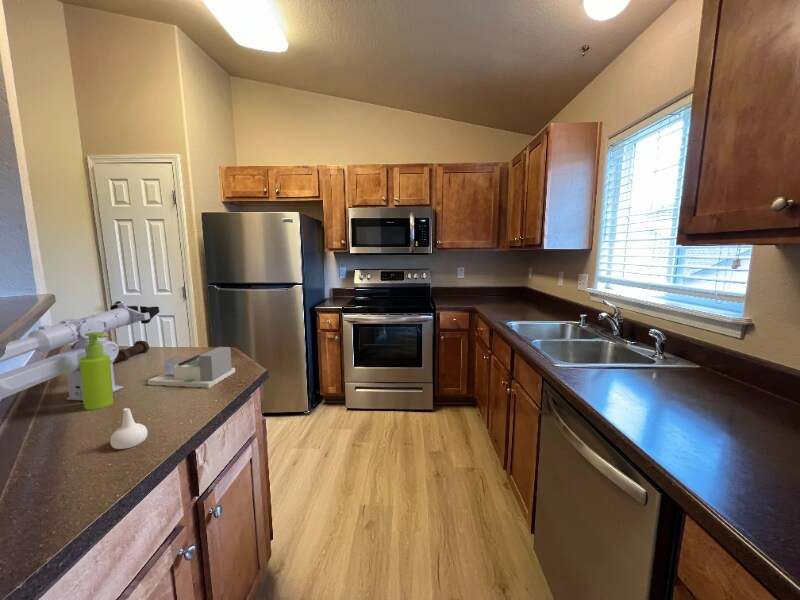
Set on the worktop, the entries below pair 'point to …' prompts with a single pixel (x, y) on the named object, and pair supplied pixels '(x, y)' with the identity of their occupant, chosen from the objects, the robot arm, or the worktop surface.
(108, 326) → the robot arm
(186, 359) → the grey block with bar
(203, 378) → the architectural block model
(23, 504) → the worktop surface
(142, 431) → the garlic bulb
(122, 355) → the bolt
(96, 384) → the soap dispenser
